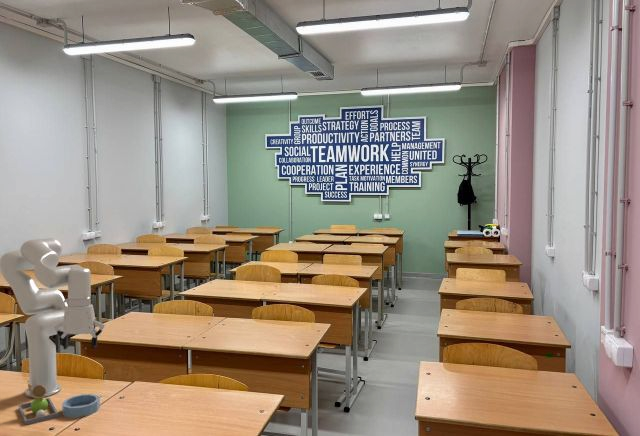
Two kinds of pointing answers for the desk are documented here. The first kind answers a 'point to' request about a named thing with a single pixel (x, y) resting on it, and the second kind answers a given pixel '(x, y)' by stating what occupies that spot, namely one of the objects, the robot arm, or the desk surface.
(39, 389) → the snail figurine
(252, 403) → the desk surface
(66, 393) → the desk surface
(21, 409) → the tray
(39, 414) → the pebble
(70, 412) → the bowl
